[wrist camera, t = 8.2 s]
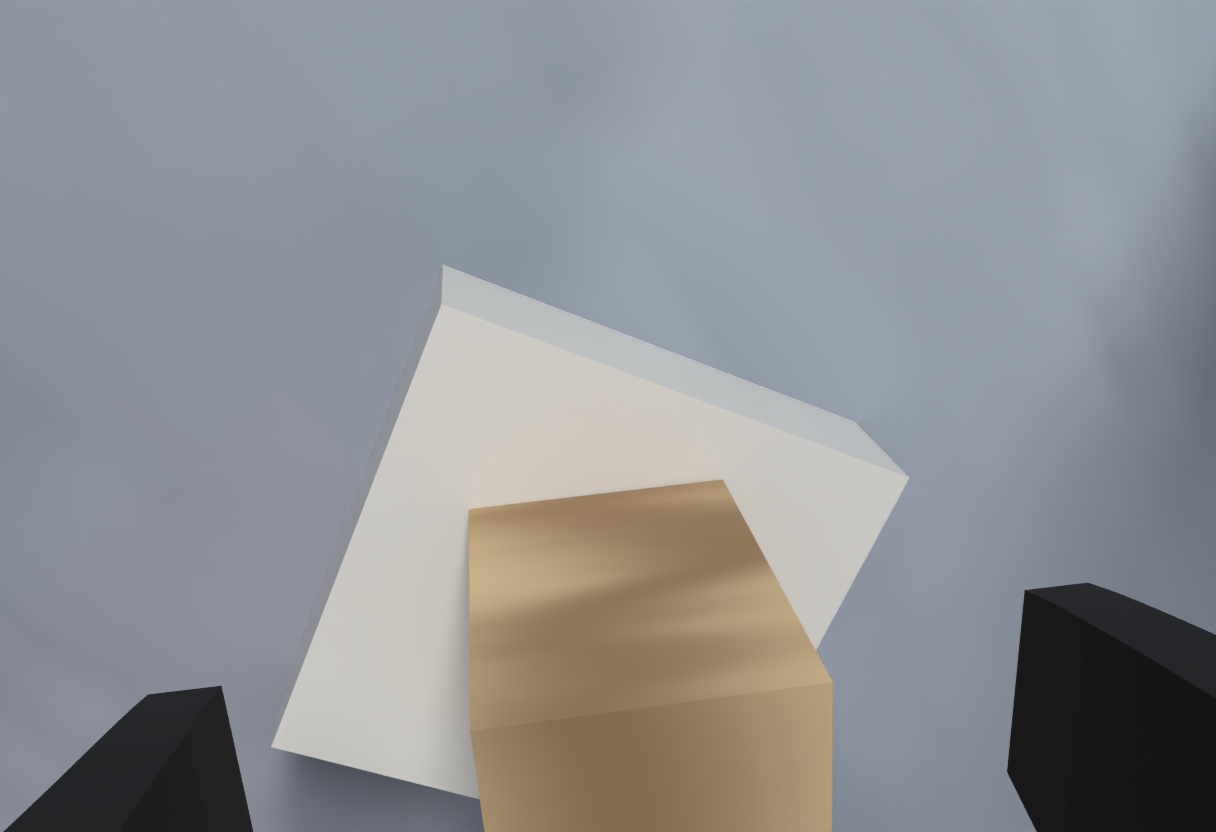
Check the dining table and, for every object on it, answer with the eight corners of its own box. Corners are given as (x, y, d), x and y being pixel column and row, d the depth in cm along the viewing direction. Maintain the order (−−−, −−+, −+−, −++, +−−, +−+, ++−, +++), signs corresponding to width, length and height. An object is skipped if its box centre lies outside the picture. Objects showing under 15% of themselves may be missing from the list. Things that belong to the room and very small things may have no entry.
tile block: (847, 413, 20) (909, 478, 18) (673, 751, 22) (704, 856, 20) (442, 259, 18) (441, 303, 15) (295, 646, 20) (271, 747, 18)
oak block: (722, 480, 17) (832, 682, 12) (730, 691, 18) (830, 953, 13) (468, 509, 17) (469, 731, 12) (496, 722, 18) (508, 1004, 13)
